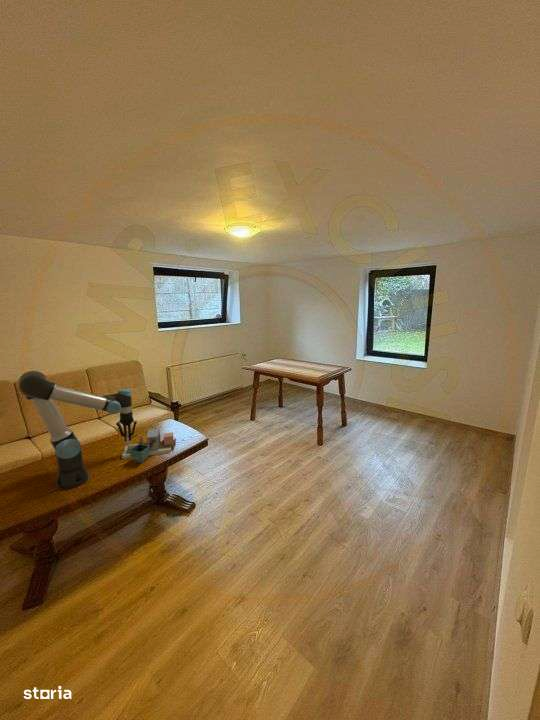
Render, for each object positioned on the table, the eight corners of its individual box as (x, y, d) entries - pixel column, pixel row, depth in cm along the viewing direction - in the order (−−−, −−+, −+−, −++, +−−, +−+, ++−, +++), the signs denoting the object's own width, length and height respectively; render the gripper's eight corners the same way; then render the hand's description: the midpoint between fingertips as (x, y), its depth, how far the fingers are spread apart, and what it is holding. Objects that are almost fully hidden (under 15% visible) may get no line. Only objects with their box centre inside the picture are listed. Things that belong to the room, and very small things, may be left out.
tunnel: (147, 451, 195) (146, 437, 193) (150, 443, 207) (148, 429, 205) (158, 450, 197) (157, 436, 195) (160, 441, 208) (159, 428, 206)
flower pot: (142, 465, 183) (141, 452, 181) (130, 463, 185) (128, 450, 183) (150, 458, 192) (149, 445, 190) (139, 456, 193) (137, 444, 192)
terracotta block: (164, 445, 200) (163, 437, 199) (164, 441, 206) (164, 433, 205) (173, 444, 202) (172, 436, 201) (173, 440, 207) (173, 432, 206)
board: (122, 458, 190) (122, 455, 190) (126, 448, 204) (126, 445, 203) (170, 452, 198) (170, 449, 198) (171, 443, 212) (171, 439, 211)
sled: (139, 450, 195) (138, 442, 194) (141, 445, 203) (140, 437, 202) (175, 446, 201) (174, 438, 200) (175, 441, 209) (175, 433, 208)
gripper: (113, 414, 187) (116, 448, 191) (135, 413, 190) (138, 446, 195) (116, 410, 194) (119, 443, 198) (137, 409, 198) (139, 441, 202)
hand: (128, 445), depth 196 cm, fingers closed
